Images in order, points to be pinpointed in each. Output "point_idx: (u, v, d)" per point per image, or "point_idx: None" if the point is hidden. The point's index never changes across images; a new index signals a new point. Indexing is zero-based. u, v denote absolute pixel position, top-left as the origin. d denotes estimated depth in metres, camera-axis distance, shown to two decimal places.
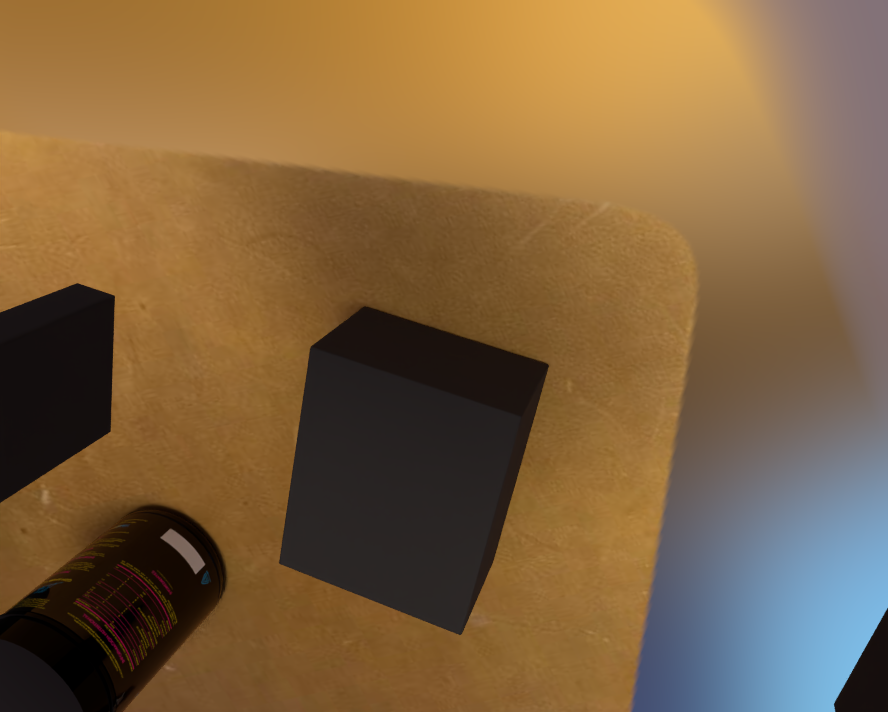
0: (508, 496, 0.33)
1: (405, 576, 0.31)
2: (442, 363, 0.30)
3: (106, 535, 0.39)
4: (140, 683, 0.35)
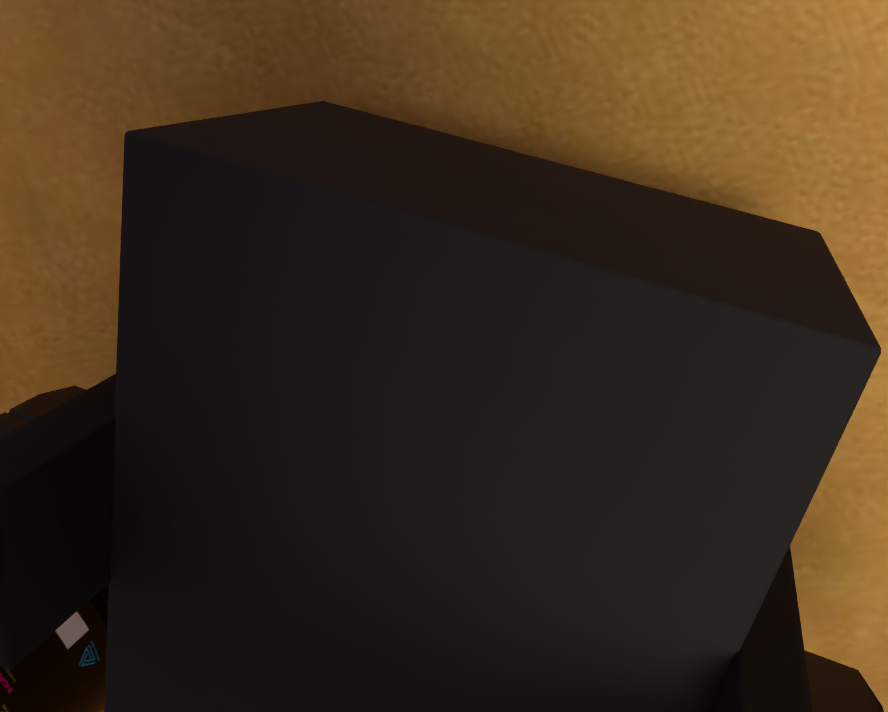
0: None
1: None
2: (548, 203, 0.10)
3: None
4: None
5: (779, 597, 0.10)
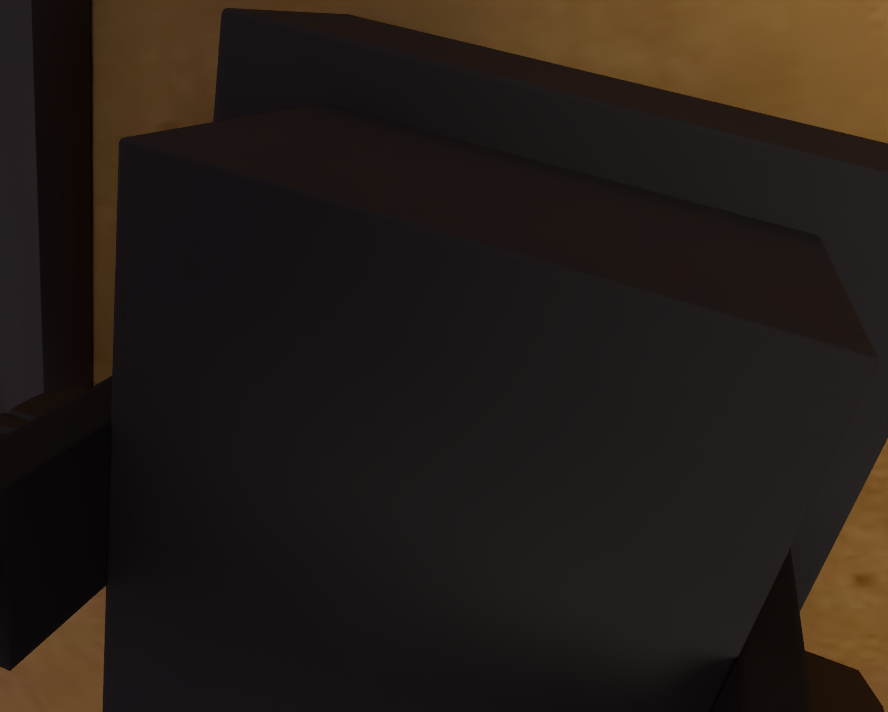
0: None
1: None
2: (545, 209, 0.10)
3: None
4: None
5: (779, 597, 0.10)
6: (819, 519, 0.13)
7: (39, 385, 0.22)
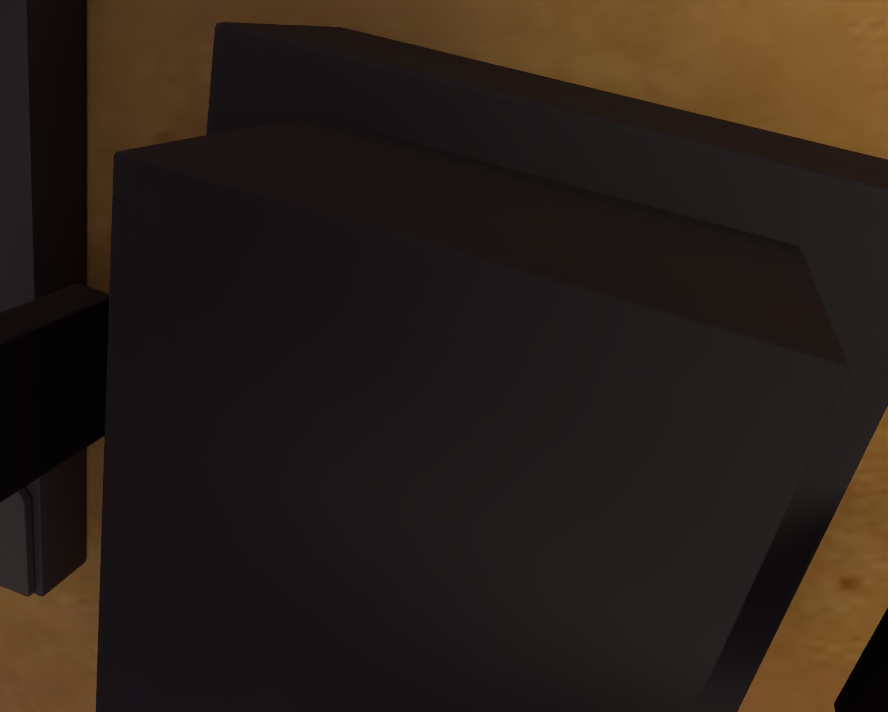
0: None
1: None
2: (531, 220, 0.10)
3: None
4: None
5: None
6: (803, 524, 0.13)
7: None
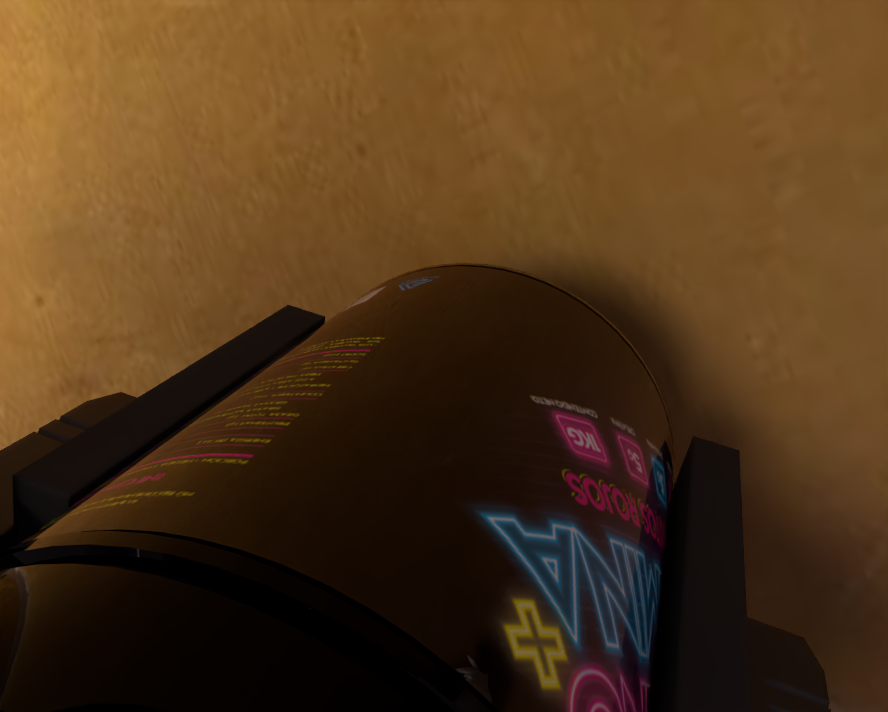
0: None
1: None
2: None
3: None
4: (393, 469, 0.07)
5: (726, 566, 0.10)
6: None
7: None
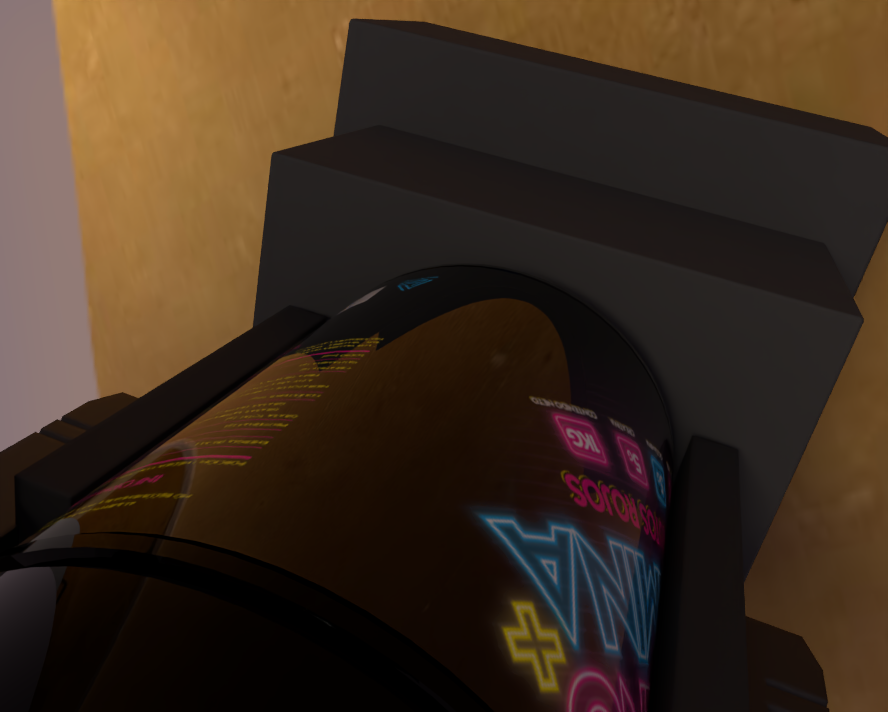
0: (599, 198, 0.16)
1: (689, 432, 0.14)
2: None
3: None
4: (391, 471, 0.07)
5: (725, 566, 0.10)
6: (582, 94, 0.17)
7: None
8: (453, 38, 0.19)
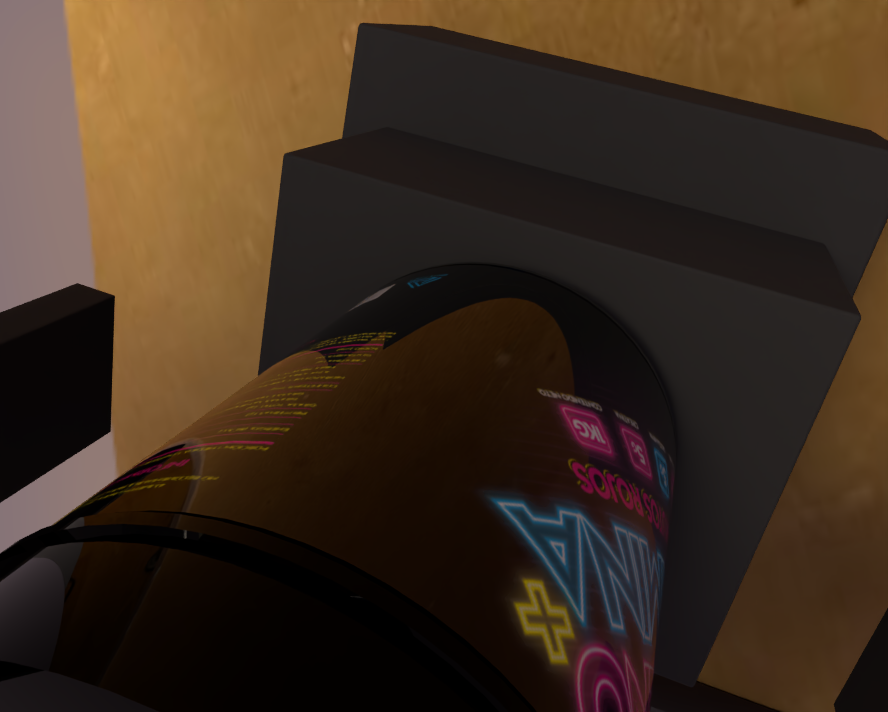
0: (603, 198, 0.16)
1: (691, 428, 0.14)
2: None
3: None
4: (407, 456, 0.07)
5: None
6: (586, 97, 0.17)
7: None
8: (460, 42, 0.19)
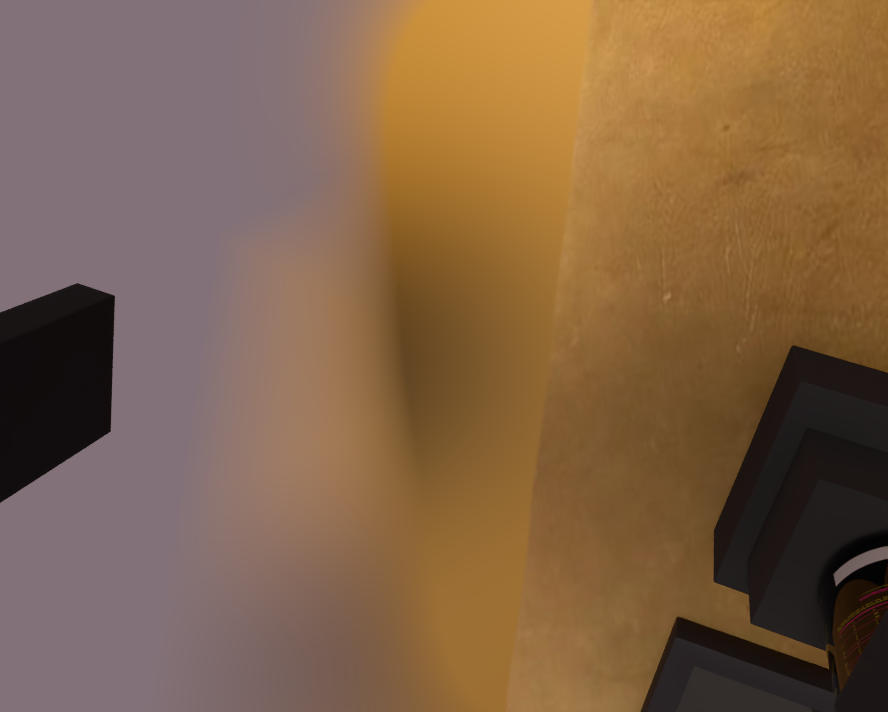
0: None
1: None
2: (783, 521, 0.37)
3: None
4: None
5: None
6: None
7: None
8: (843, 384, 0.38)
